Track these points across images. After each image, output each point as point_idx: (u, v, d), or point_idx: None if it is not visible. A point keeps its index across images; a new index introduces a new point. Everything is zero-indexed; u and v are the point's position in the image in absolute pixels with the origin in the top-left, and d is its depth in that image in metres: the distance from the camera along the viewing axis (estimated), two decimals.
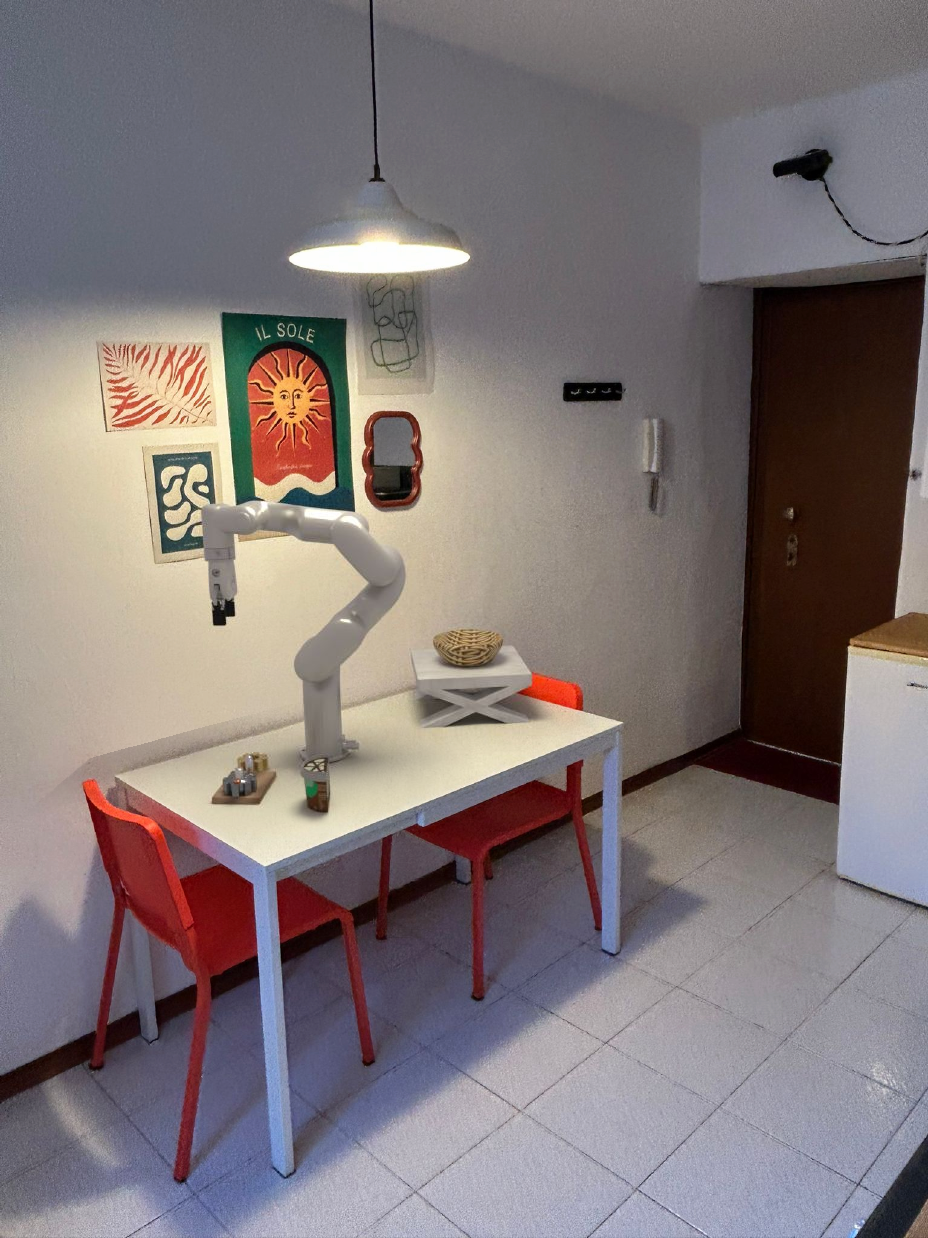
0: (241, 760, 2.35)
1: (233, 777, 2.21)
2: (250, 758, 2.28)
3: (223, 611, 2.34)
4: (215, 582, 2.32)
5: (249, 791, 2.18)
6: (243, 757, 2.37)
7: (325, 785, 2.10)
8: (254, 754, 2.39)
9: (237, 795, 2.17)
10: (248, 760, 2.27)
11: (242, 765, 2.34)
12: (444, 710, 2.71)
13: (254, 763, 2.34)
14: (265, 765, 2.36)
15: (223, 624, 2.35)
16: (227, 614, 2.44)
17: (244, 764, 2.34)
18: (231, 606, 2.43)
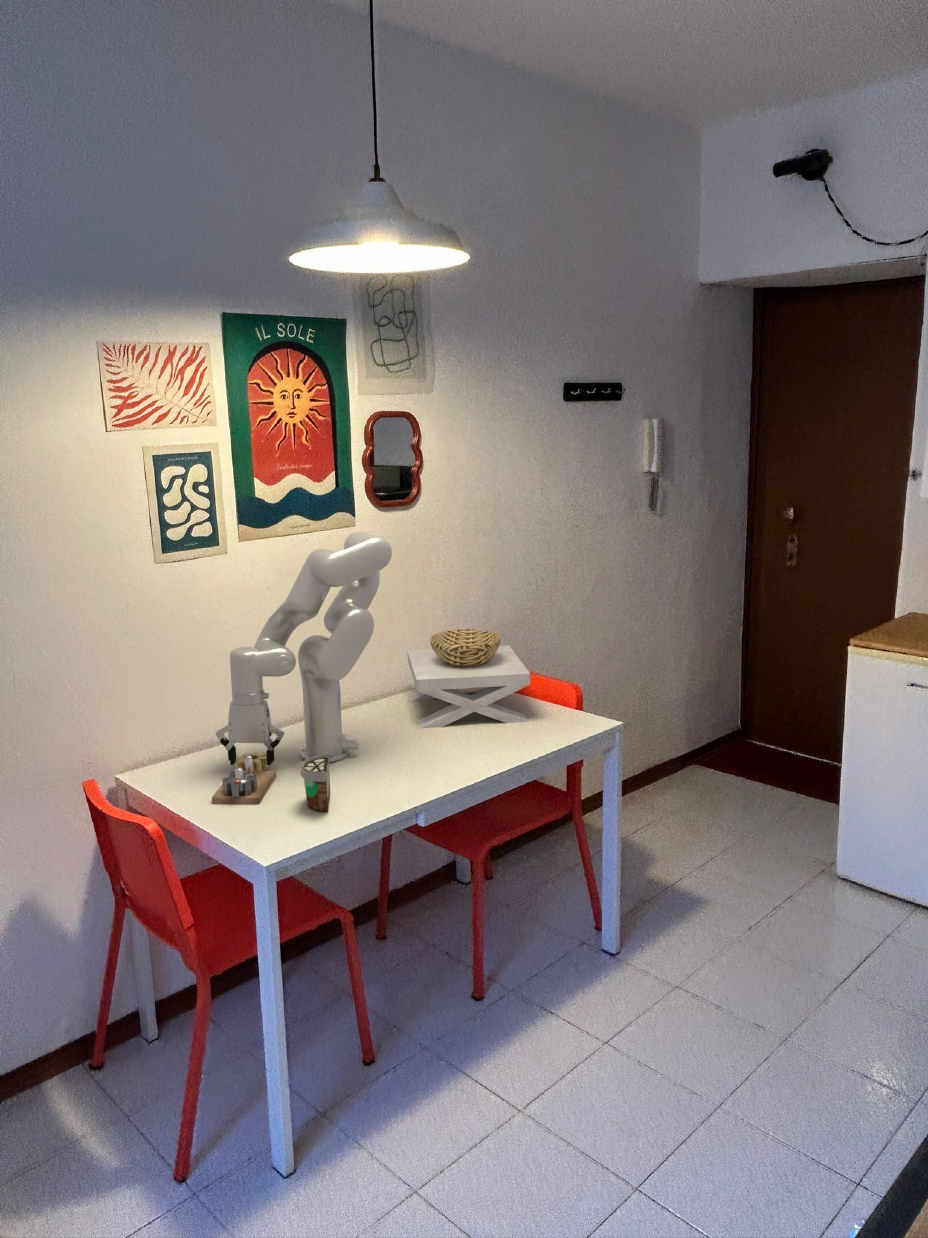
0: (239, 760, 2.35)
1: (233, 777, 2.21)
2: (250, 758, 2.28)
3: None
4: (269, 722, 2.34)
5: (249, 791, 2.18)
6: (242, 757, 2.37)
7: (325, 785, 2.10)
8: (253, 754, 2.39)
9: (237, 795, 2.17)
10: (248, 760, 2.27)
11: (241, 765, 2.34)
12: (442, 710, 2.71)
13: (253, 763, 2.34)
14: (264, 765, 2.36)
15: (272, 761, 2.38)
16: (234, 761, 2.37)
17: (243, 764, 2.34)
18: (235, 751, 2.38)
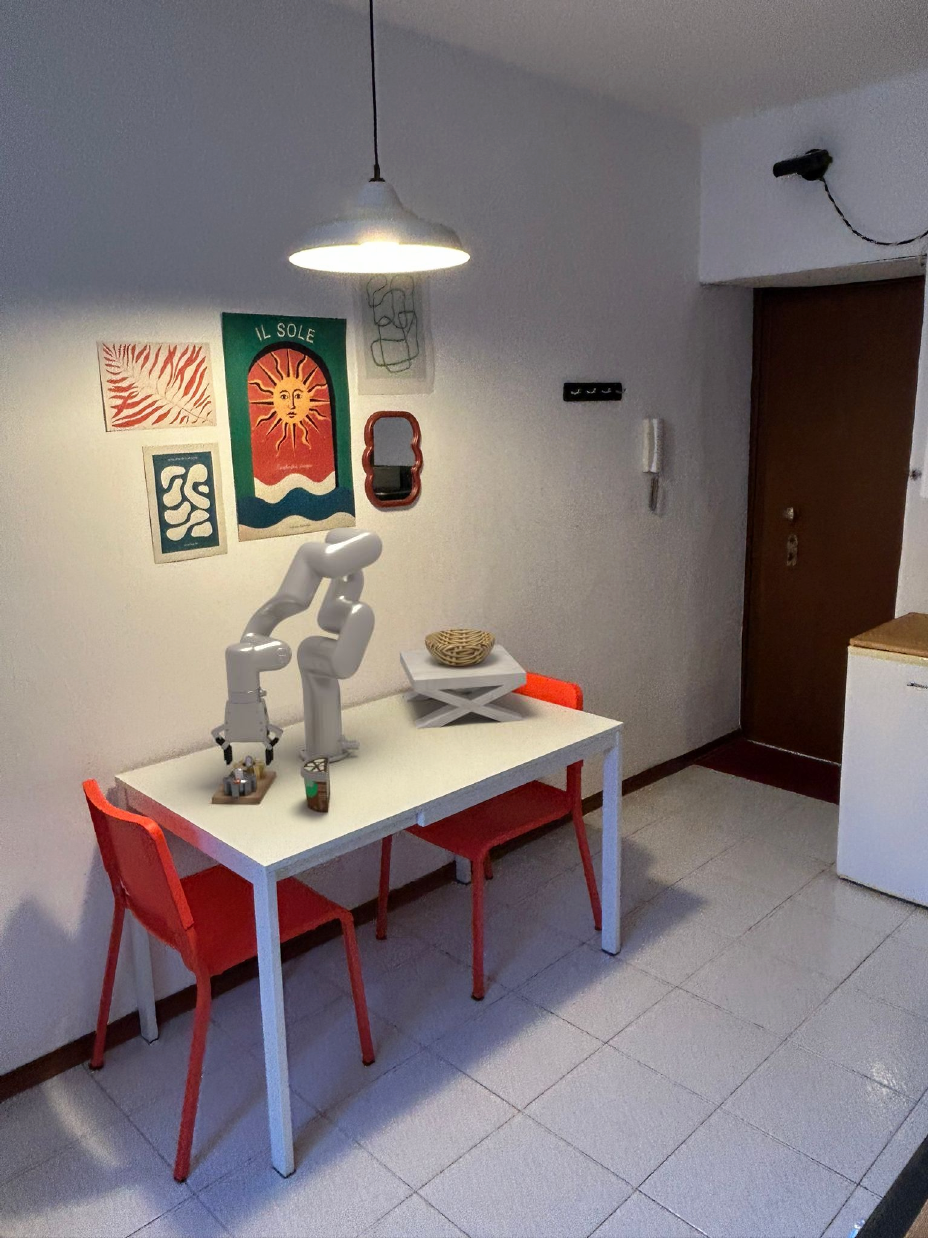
0: None
1: (233, 777, 2.21)
2: (250, 758, 2.28)
3: None
4: (266, 721, 2.26)
5: (249, 791, 2.18)
6: (239, 763, 2.29)
7: (325, 785, 2.10)
8: None
9: (237, 795, 2.17)
10: (248, 760, 2.27)
11: None
12: (439, 710, 2.71)
13: (250, 769, 2.26)
14: (262, 772, 2.28)
15: (271, 760, 2.29)
16: (230, 761, 2.28)
17: None
18: (231, 751, 2.29)
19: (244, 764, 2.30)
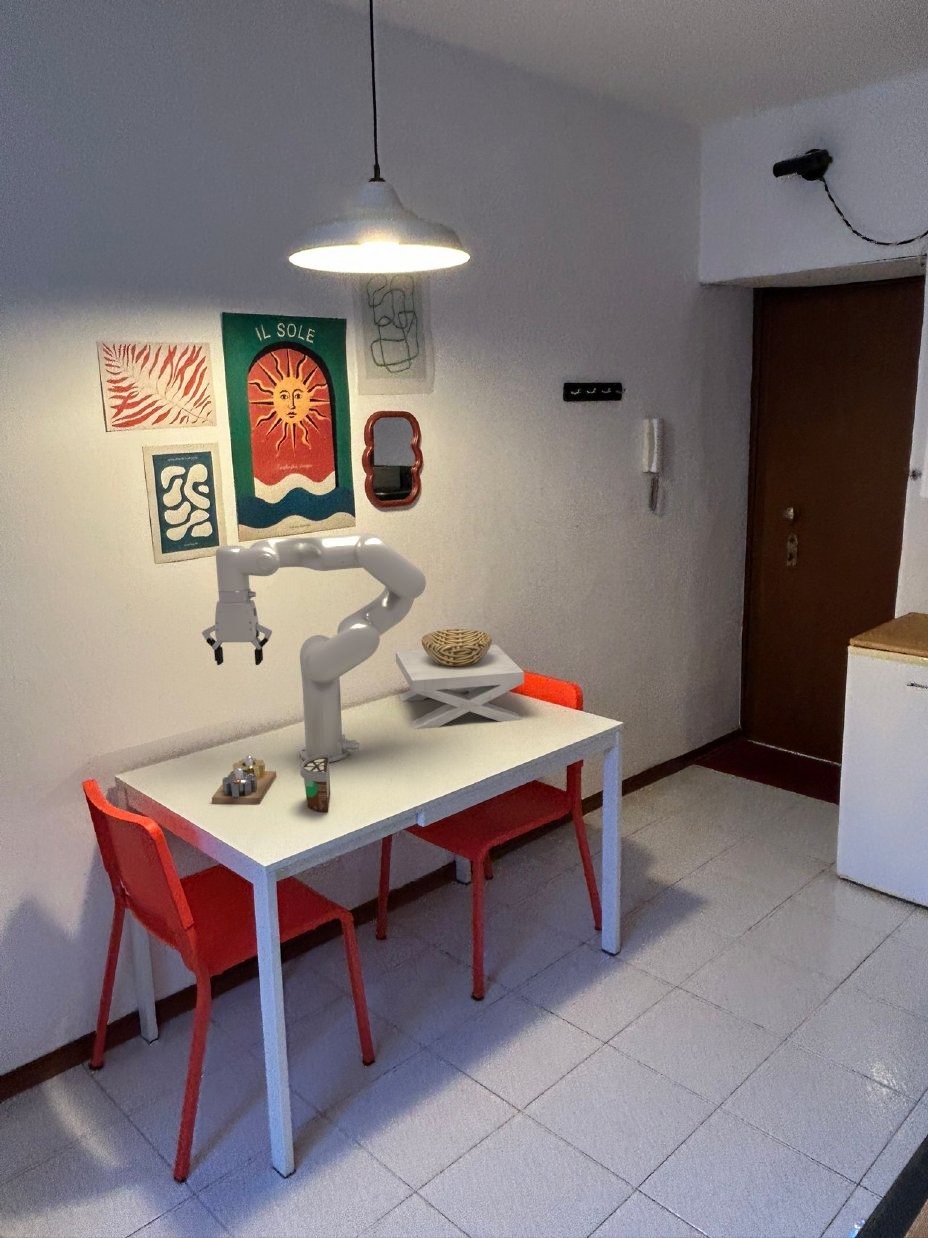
0: None
1: (233, 777, 2.21)
2: (250, 758, 2.28)
3: None
4: (256, 621, 2.33)
5: (249, 791, 2.18)
6: (239, 763, 2.29)
7: (325, 785, 2.10)
8: None
9: (237, 795, 2.17)
10: (248, 760, 2.27)
11: None
12: (436, 710, 2.71)
13: (250, 769, 2.26)
14: (262, 772, 2.28)
15: (260, 661, 2.37)
16: (221, 661, 2.36)
17: None
18: (222, 652, 2.37)
19: (244, 764, 2.30)
